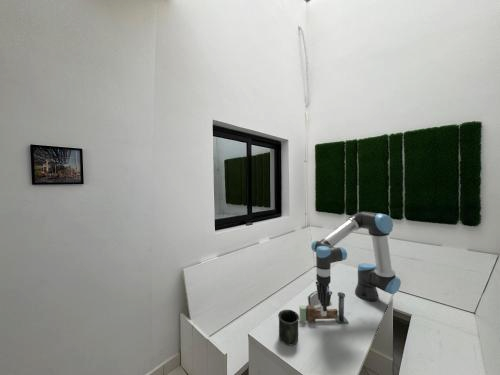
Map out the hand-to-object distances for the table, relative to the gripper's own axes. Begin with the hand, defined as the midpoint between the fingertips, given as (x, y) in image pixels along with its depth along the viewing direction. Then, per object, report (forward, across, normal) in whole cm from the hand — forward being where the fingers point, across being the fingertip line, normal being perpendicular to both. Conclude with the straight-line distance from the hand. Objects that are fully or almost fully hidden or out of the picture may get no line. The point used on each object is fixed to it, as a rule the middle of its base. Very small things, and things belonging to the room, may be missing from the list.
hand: (323, 315), depth 113 cm
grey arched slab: (+8, +20, -9) cm, 24 cm away
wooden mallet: (+7, +6, -3) cm, 10 cm away
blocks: (+7, +9, +7) cm, 14 cm away
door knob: (+8, +4, -14) cm, 17 cm away
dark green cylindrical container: (+7, -2, +22) cm, 23 cm away
